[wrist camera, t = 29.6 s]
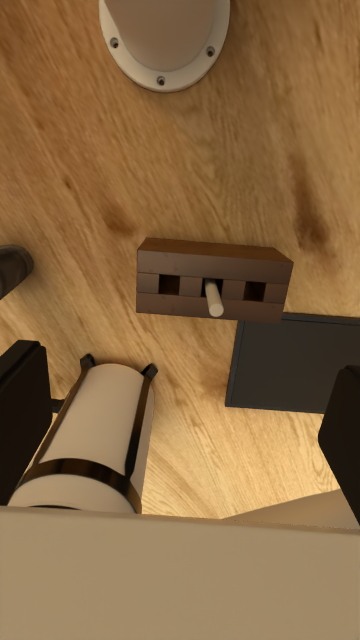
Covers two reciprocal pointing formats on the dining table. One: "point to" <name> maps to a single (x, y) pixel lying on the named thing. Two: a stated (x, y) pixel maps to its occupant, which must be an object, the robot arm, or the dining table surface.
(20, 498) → the coffee press
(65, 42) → the dining table surface
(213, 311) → the rod
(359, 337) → the tablet
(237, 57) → the dining table surface
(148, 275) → the pen block
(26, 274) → the beverage cup
